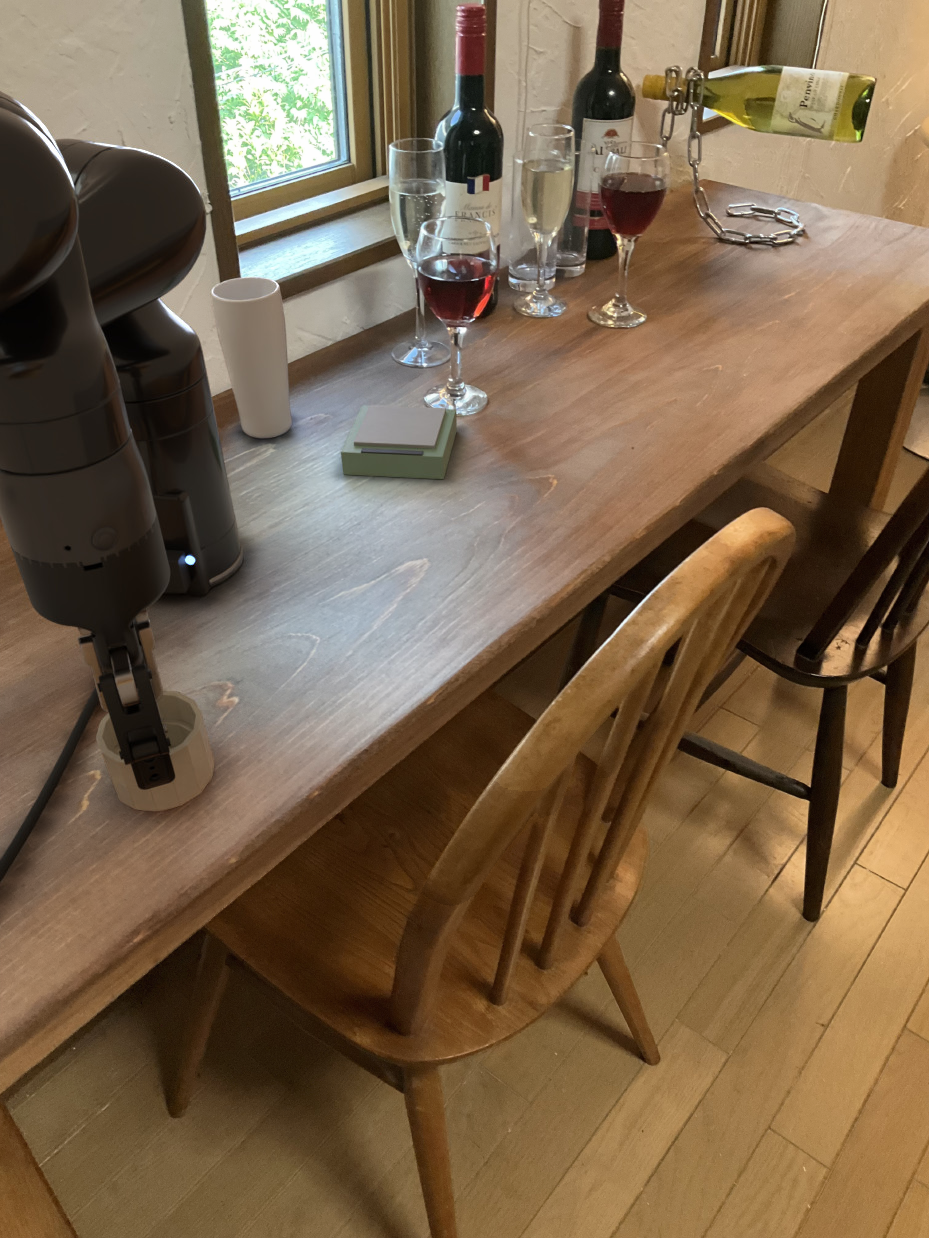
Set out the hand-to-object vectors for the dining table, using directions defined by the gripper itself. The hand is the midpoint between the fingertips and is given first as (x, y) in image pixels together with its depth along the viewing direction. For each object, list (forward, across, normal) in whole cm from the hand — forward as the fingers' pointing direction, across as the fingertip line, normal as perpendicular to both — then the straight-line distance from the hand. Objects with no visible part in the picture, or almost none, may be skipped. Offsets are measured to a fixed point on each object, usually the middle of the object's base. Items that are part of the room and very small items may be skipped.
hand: (146, 736), depth 61 cm
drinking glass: (+4, -46, +19) cm, 50 cm away
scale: (+4, -35, +30) cm, 46 cm away
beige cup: (+4, 0, 0) cm, 4 cm away
